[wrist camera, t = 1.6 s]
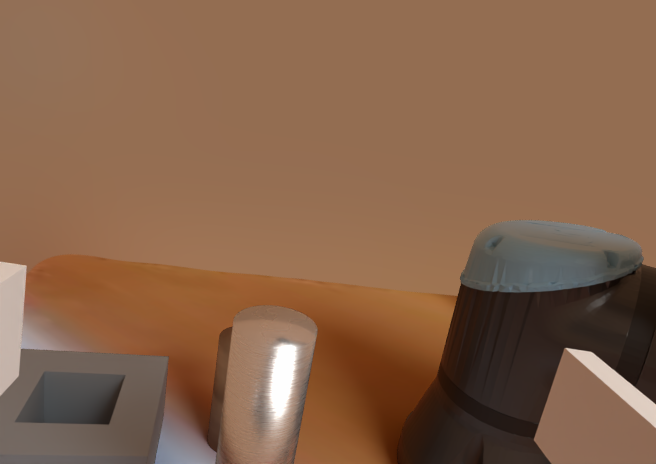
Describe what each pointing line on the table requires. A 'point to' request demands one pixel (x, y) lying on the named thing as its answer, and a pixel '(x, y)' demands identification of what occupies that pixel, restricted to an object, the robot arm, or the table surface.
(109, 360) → the hole block
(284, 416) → the long steel pin
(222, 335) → the short walnut pin
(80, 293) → the table surface
